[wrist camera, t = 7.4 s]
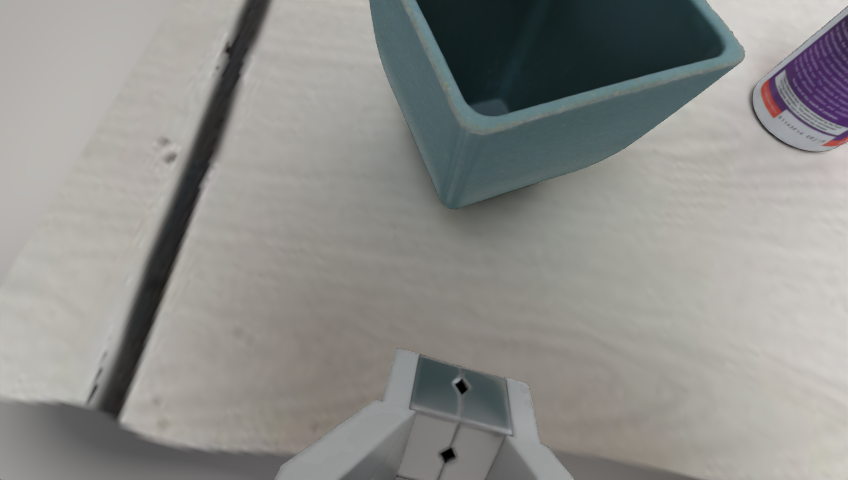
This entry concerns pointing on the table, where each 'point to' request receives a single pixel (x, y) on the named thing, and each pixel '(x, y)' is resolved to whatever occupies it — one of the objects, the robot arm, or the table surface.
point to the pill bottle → (809, 91)
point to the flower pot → (541, 81)
